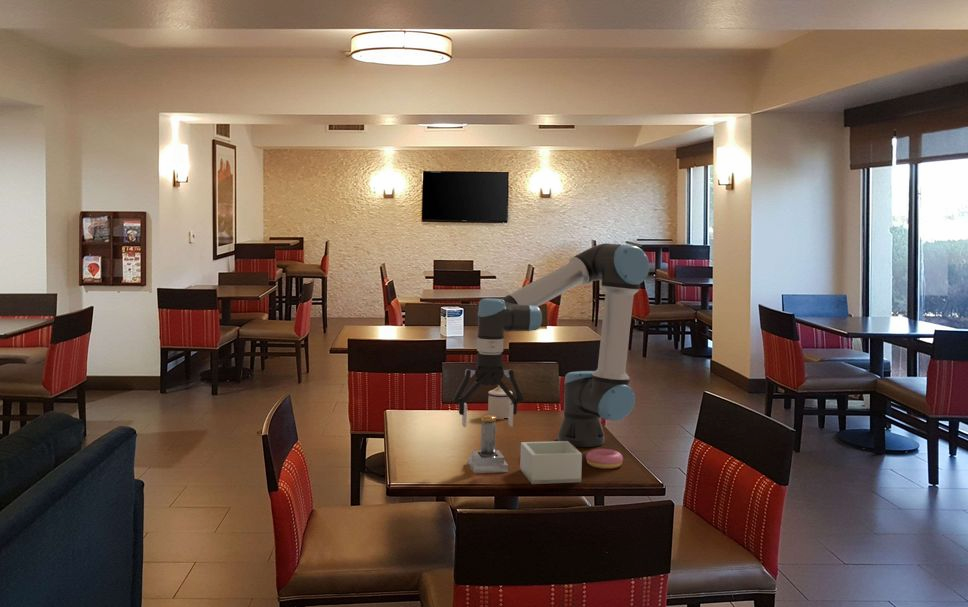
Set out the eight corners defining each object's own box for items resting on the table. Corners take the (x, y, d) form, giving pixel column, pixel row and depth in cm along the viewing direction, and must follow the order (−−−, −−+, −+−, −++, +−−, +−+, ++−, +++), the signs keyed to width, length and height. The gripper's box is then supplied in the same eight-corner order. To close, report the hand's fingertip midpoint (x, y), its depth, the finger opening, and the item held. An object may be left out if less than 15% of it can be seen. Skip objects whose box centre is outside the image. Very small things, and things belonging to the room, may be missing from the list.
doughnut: (629, 469, 262) (629, 455, 262) (594, 471, 259) (594, 457, 259) (613, 459, 273) (613, 445, 272) (579, 461, 270) (580, 447, 269)
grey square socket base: (500, 462, 266) (501, 449, 266) (508, 471, 256) (508, 458, 256) (467, 463, 264) (467, 450, 264) (473, 473, 254) (473, 459, 254)
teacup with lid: (514, 419, 321) (514, 387, 320) (488, 419, 320) (489, 387, 319) (509, 412, 333) (510, 381, 332) (485, 412, 332) (485, 381, 331)
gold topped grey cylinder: (493, 458, 263) (494, 414, 261) (497, 462, 258) (498, 418, 257) (478, 458, 262) (479, 415, 260) (481, 463, 257) (482, 418, 256)
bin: (567, 467, 262) (567, 440, 261) (581, 482, 248) (582, 453, 247) (520, 469, 259) (520, 442, 258) (531, 483, 245) (532, 455, 244)
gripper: (448, 354, 251) (446, 429, 253) (535, 355, 255) (532, 428, 257) (444, 350, 258) (442, 423, 260) (529, 351, 263) (526, 422, 265)
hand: (487, 425), depth 259 cm, fingers open, 13 cm apart
